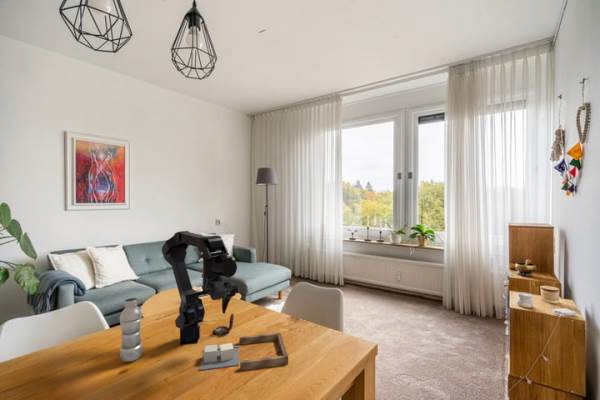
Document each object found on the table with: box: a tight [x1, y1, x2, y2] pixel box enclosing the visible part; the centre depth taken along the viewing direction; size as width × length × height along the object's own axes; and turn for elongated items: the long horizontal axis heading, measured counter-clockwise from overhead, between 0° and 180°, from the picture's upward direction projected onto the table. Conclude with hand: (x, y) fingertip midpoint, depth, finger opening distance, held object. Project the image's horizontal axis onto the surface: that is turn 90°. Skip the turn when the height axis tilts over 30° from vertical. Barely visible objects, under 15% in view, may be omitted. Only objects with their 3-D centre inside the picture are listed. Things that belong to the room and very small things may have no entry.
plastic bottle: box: [119, 297, 144, 363], centre depth 95 cm, size 6×7×20 cm
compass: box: [212, 313, 235, 337], centre depth 114 cm, size 8×8×7 cm
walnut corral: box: [238, 332, 289, 371], centre depth 99 cm, size 15×17×2 cm
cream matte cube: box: [204, 344, 219, 363], centre depth 95 cm, size 4×4×4 cm
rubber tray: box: [199, 345, 240, 371], centre depth 96 cm, size 12×12×1 cm
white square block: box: [219, 342, 234, 361], centre depth 97 cm, size 4×4×4 cm
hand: (211, 316), depth 100 cm, fingers open, 9 cm apart
